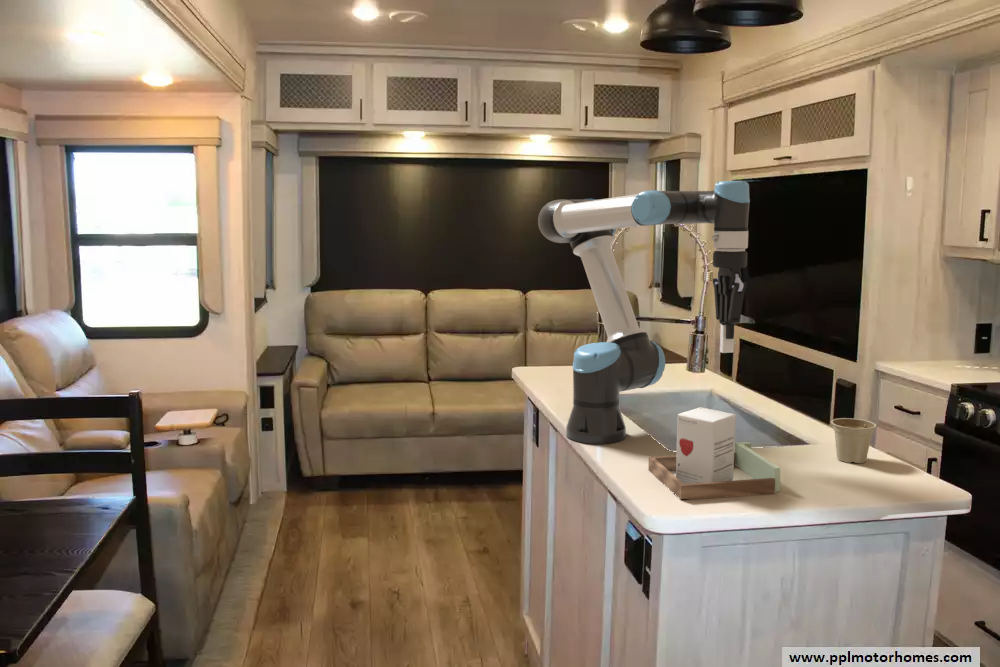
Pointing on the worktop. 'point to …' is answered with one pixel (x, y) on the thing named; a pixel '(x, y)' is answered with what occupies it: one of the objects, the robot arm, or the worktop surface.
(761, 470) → the green piece
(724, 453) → the supplement box
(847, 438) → the flower pot
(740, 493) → the housing
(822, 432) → the worktop surface
